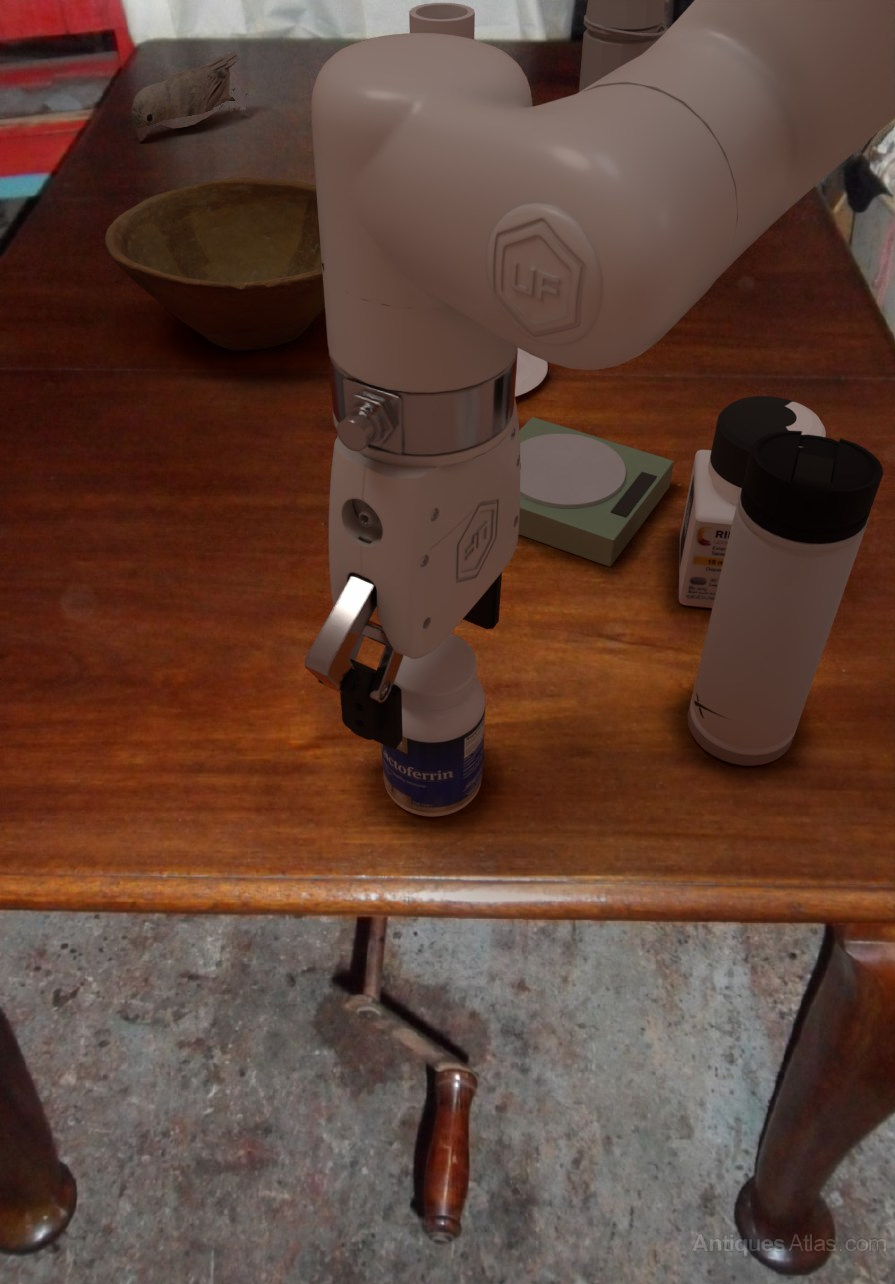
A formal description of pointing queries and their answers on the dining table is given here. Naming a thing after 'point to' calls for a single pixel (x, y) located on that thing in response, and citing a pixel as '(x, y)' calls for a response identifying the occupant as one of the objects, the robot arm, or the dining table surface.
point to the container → (727, 487)
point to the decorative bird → (185, 93)
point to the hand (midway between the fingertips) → (424, 673)
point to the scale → (585, 490)
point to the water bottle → (618, 35)
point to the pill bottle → (438, 732)
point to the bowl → (228, 258)
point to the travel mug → (779, 591)
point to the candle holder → (529, 372)
